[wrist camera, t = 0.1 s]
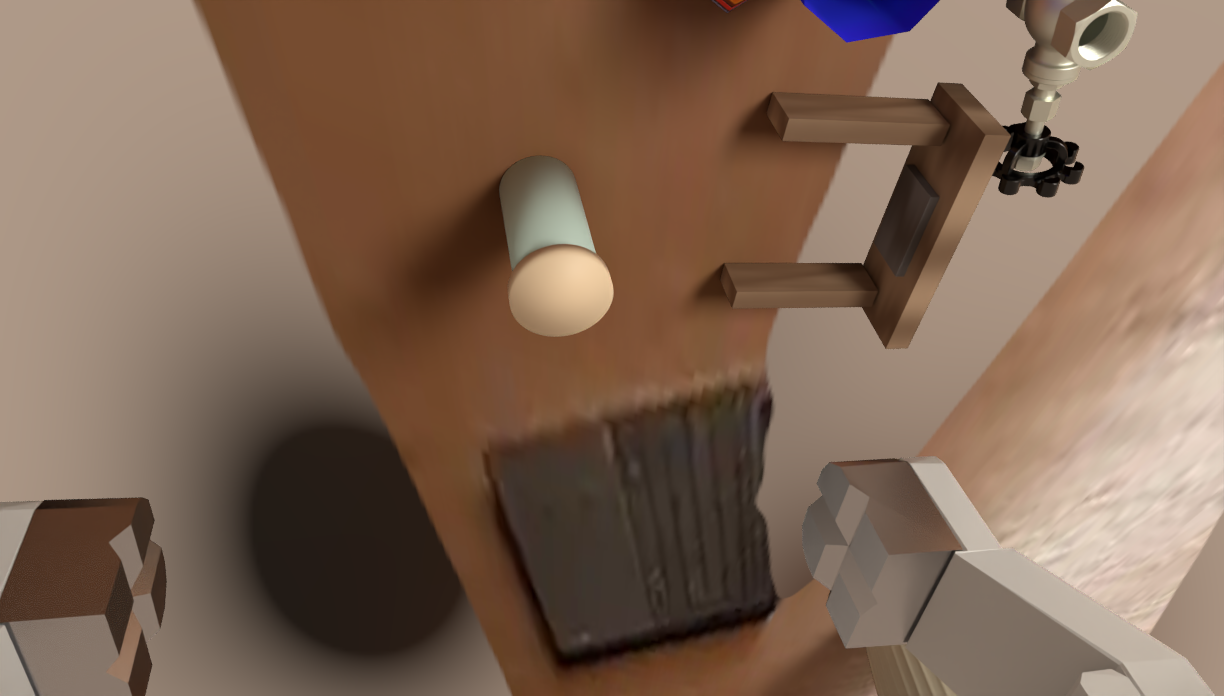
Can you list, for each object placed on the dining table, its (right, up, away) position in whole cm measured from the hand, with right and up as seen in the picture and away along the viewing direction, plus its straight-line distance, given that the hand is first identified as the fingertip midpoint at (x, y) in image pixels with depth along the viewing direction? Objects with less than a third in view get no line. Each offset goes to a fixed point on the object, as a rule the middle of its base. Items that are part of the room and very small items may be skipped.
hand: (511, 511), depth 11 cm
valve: (+25, +20, +43) cm, 53 cm away
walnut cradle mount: (+15, +12, +47) cm, 51 cm away
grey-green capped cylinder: (-3, +11, +43) cm, 45 cm away
